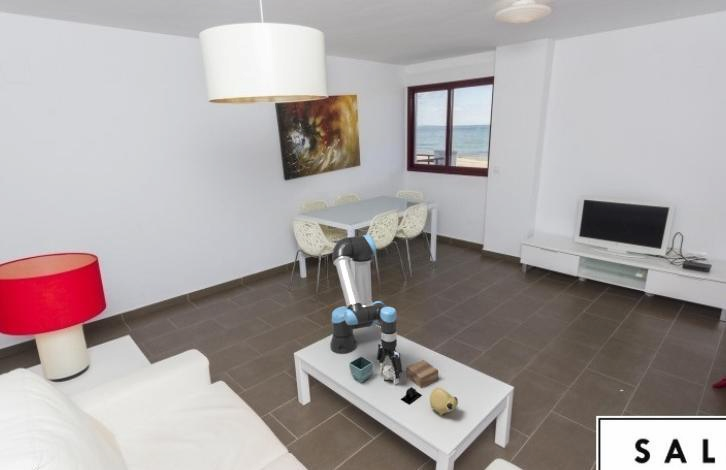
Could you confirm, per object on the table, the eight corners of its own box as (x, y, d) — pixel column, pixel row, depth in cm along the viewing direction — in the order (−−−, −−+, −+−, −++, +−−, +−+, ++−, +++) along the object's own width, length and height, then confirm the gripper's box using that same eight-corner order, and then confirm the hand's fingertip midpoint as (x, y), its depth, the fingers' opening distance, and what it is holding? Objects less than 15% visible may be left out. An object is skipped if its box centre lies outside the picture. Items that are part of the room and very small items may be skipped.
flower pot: (361, 370, 198) (361, 355, 196) (373, 377, 192) (373, 362, 189) (349, 378, 192) (348, 362, 190) (361, 386, 186) (360, 370, 184)
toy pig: (449, 424, 160) (450, 402, 157) (425, 411, 168) (425, 390, 165) (460, 411, 167) (461, 390, 164) (437, 399, 175) (437, 379, 172)
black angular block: (408, 409, 170) (408, 400, 169) (396, 401, 176) (396, 392, 174) (425, 395, 179) (425, 387, 177) (413, 388, 184) (413, 380, 182)
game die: (391, 383, 193) (402, 366, 193) (391, 388, 184) (402, 371, 184) (376, 373, 194) (387, 357, 194) (375, 378, 185) (386, 360, 186)
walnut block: (406, 377, 192) (406, 366, 190) (423, 369, 197) (423, 359, 196) (421, 388, 183) (421, 378, 181) (438, 380, 188) (438, 370, 187)
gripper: (368, 332, 190) (369, 371, 196) (398, 350, 173) (399, 392, 179) (380, 327, 195) (380, 365, 200) (410, 344, 178) (410, 386, 184)
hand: (389, 378), depth 190 cm, fingers closed on game die, 9 cm apart
